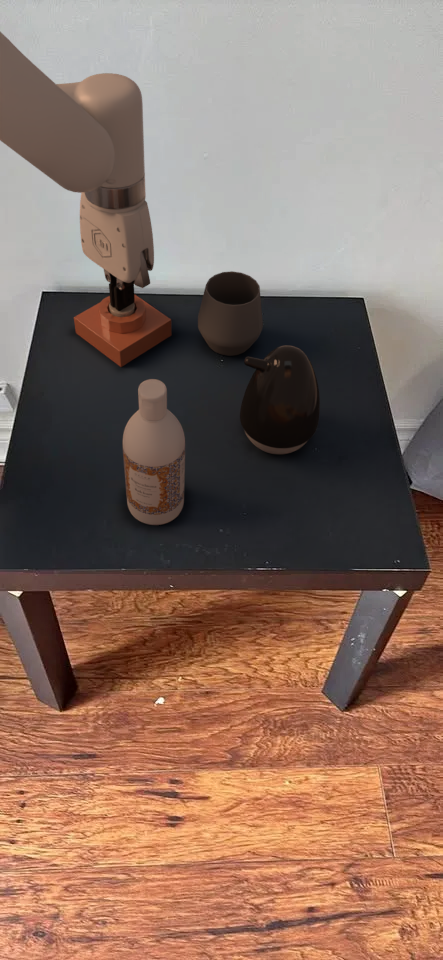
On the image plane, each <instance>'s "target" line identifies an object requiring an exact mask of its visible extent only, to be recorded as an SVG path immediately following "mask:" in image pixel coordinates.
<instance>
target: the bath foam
mask: <svg viewBox="0 0 443 960" xmlns="http://www.w3.org/2000/svg"><path fill="white" fill-rule="evenodd" d="M137 393H138V395H137V397H138V410H137V411H136V412H134V413H133V414H132V416H131V417H130V418H129V420H128V421H127V423H126V425H125V427H124V429H123V435H122V443H121V444H122V456H123V468H124V470H123V471H124V480H125V482H124V483H125V495H126V505H127V508H128V510H129V512H130V514H131V515H132V516H133V518H134V519H136V520H137V521H139V522H141V523H142V524H145V525H149V526H159V525H160V526H161V525H165V524H169V523H170V522H172V521H173V520H175V519H176V518H177V517H179V515H180V513H181V512H182V511H183V508H184V503H185V482H186V481H185V480H186V479H185V478H186V477H185V476H186V475H185V474H186V437H185V431H184V429H183V426H182V424H181V422H180V420H178V418H177V416H176V415H175V414H174V413H172V412H171V410H169V409H168V390H167V386H166V384H165V383H164V382H163V381H161V380H159V379H155V378H149V379H146V380H144V381H142V382H141V383H140V384H139V385H138V389H137Z"/></svg>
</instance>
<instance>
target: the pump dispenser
mask: <svg viewBox="0 0 443 960" xmlns="http://www.w3.org/2000/svg"><path fill="white" fill-rule="evenodd" d="M243 364H244V365H245V366H246V367H249V368H251V369H254V371H253V374H252V376H251V377H250V379H249V381H248V384H247V385H246V388H245V391H244V393H243V397H242V400H241V404H240V410H239V421H240V425H241V426H242V429H243V430H244V433H245V436H246V437H247V439H248V440H249V441H250V442H251V444H252V445H254V446H255V447H256V448H258V450H261V451H263V452H265V453H268V454H272V455H286V454H291V453H293V452H295V451H298V450H300V449H301V448H302V447H304V445H305V444H307V442H308V441H309V440H310V439H312V437H313V436H314V435H315V434H316V432H317V430H318V426H319V421H320V409H321V398H320V396H321V395H320V389H319V383H318V379H317V378H318V377H317V375H316V372H315V369H314V366H313V364H312V361H311V360H310V358H309V357H308V355H307V354H306V352H305V351H304V350H303V349H300V348H299V347H298V346H295V345H289V344H288V345H287V344H286V345H280V346H276V348H274V349H273V350H271V351H270V352H269V353H267V355H265V356H264V358H263V359H262V358H258V357H253V356H246V357H245V358H244V361H243Z"/></svg>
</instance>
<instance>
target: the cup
mask: <svg viewBox="0 0 443 960" xmlns="http://www.w3.org/2000/svg"><path fill="white" fill-rule="evenodd" d="M261 297H262V296H261V287H260V284H259V283H258V282H257V280H256V279H255V278H254V277H252V276H250V275H249V274H246V273H243V272H239V271H232V270H231V271H222V272H219V273H216V274H214V275H212V276H211V277H210V278H209V279H208V280H207V281H206V284H205V287H204V291H203V295H202V298H201V303H200V307H199V311H198V314H197V328H198V331H199V333H200V334H201V336H202V338H203V340H204V341H205V343H206V344H207V346H208V347H209V348H210V349H211V350H212V351H213V352H214V353H217V354H219V355H222V356H226V357H227V356H228V357H231V356H232V357H234V356H239V355H241V354H244V353H245V352H246V351H247V350H249V349H250V348H251V346H252V345H253V344H254V343H255V342H256V341H257V340H258V339H259V337H260V335H261V333H262V332H263V327H264V320H263V310H262V299H261Z"/></svg>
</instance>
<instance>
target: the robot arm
mask: <svg viewBox="0 0 443 960" xmlns="http://www.w3.org/2000/svg"><path fill="white" fill-rule="evenodd" d="M143 110H144V105H143V95H142V92H141V88H140V87H139V85H138V84H137V83H136V81H134V80H133V79H132V78H130V77H128V76H125V75H123V74H119V73H113V72H109V73H108V72H105V73H104V72H102V73H96V74H91V75H89V76H86V77H85V78H84V79H83V80H81V81H76V82H67V83H65V82H64V83H56V82H54V81H53V79H51V78H50V77H49V76H47V74H45V73H44V72H43V71H42V70H41V69H40V68H39V67H38V66H37V65H36V64H34V63H33V62H32V61H31V60H30V59H29V58H28V57H27V56H26V55H25V54H24V53H23V52H22V51H20V50H19V48H18V47H17V46H15V44H14V43H13V42H12V41H11V40H10V39H9V38H8V37H7V36H6V35H5V34H4V33H2V31H0V142H1V143H3V144H4V145H6V146H7V147H8V148H9V149H11V150H12V151H14V152H15V153H16V154H17V155H18V156H20V157H21V158H23V159H24V160H25V161H27V162H28V163H29V164H30V165H32V166H34V167H35V168H36V169H37V170H38V171H40V172H41V173H43V174H44V175H45V176H47V177H48V178H49V179H51V180H52V181H53V182H55V183H56V184H57V185H58V186H59V187H61V188H62V189H64V190H67V191H69V192H71V193H80V199H79V232H80V234H79V235H80V243H81V249H82V253H83V254H84V255H85V257H86V258H88V259H89V260H91V261H92V263H95V264H96V265H97V266H99V267H100V268H102V269H103V273H104V278H105V280H106V282H107V283H108V291H109V293H108V294H109V296H110V305H111V306H112V307H113V308H116V310H118V311H121V310H123V309H124V308H126V307H128V306H129V305H131V304H133V303H134V301H135V295H136V294H135V286H136V287H138V288H141V289H144V288H145V287H147V286H149V285H151V278H150V274H149V272H151V271H153V269H154V264H155V248H154V247H155V245H154V235H153V234H154V233H153V225H152V220H151V214H150V209H149V206H148V202H147V201H146V199H147V198H146V197H147V196H146V170H145V169H146V168H145V140H144V137H145V136H144V111H143ZM134 294H135V295H134Z"/></svg>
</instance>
